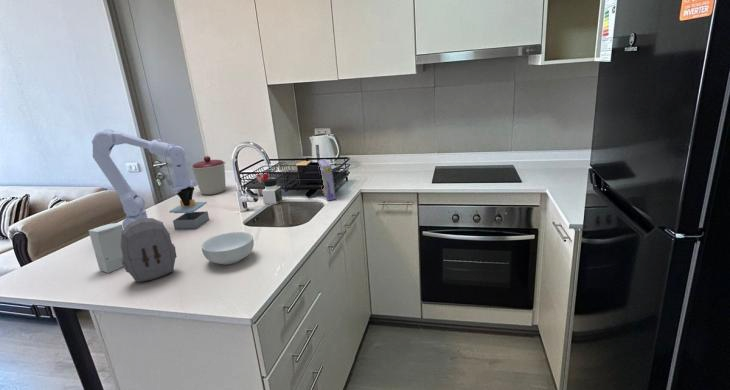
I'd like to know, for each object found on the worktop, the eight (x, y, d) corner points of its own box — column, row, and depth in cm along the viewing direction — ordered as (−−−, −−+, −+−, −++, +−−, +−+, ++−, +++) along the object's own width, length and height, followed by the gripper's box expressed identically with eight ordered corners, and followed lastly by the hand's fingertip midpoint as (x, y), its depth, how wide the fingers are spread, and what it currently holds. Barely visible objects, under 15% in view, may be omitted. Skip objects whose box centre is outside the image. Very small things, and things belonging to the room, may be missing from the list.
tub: (196, 228, 163) (194, 220, 162) (174, 229, 164) (172, 220, 163) (209, 219, 173) (207, 211, 172) (188, 220, 174) (186, 212, 173)
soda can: (256, 195, 206) (252, 174, 203) (265, 192, 212) (262, 170, 208) (266, 196, 203) (262, 174, 199) (275, 192, 209) (272, 171, 205)
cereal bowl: (261, 261, 128) (258, 242, 126) (209, 276, 120) (205, 256, 118) (249, 244, 142) (246, 227, 140) (202, 257, 135) (198, 238, 133)
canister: (219, 197, 209) (212, 159, 203) (190, 197, 212) (182, 160, 206) (236, 187, 226) (229, 152, 220) (208, 188, 229) (201, 153, 223)
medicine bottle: (276, 204, 189) (273, 180, 185) (263, 204, 190) (259, 180, 187) (282, 199, 196) (279, 176, 192) (269, 199, 197) (266, 177, 194)
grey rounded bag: (177, 265, 130) (164, 209, 124) (183, 274, 123) (169, 215, 117) (127, 281, 121) (110, 222, 116) (130, 291, 115) (112, 229, 109)
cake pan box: (320, 191, 205) (317, 159, 200) (330, 190, 206) (326, 158, 201) (326, 201, 187) (322, 166, 182) (336, 200, 188) (333, 165, 183)
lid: (193, 213, 160) (191, 203, 159) (170, 214, 162) (167, 204, 160) (207, 204, 171) (205, 195, 170) (185, 205, 173) (183, 196, 172)
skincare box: (108, 273, 127) (96, 232, 123) (98, 270, 130) (86, 230, 126) (133, 262, 134) (122, 223, 130) (123, 260, 137) (112, 221, 133)
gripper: (180, 178, 155) (187, 210, 159) (199, 170, 168) (205, 199, 172) (164, 179, 156) (171, 210, 159) (184, 170, 169) (190, 199, 173)
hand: (188, 204), depth 166 cm, fingers closed on lid
